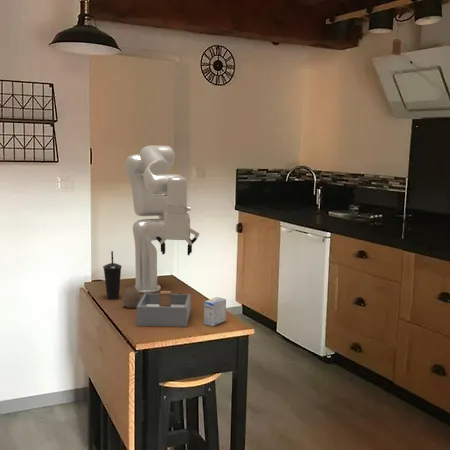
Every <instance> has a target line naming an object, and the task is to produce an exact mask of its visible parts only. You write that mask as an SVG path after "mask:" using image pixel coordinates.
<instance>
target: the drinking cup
mask: <svg viewBox="0 0 450 450" xmlns="http://www.w3.org/2000/svg"><path fill="white" fill-rule="evenodd" d="M110 253H111V254H110V255H111V256H110V257H111V258H110V259H111V262H110V263H106V264H104V265H103V266H102V268H103V273H104V281H105V290H106V291H105V292H106V299H108V300H118V299H119V298H120V289H121V287H120V286H121V276H122V275H121V273H122V272H121V271H122V268H123V267H122V265H121V264H119V263H115V262H114V251H111V252H110Z"/></svg>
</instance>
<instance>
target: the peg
mask: <svg viewBox="0 0 450 450" xmlns="http://www.w3.org/2000/svg"><path fill="white" fill-rule="evenodd" d="M158 294H159V307H171V294H172V290H159V293H158Z"/></svg>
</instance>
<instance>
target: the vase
mask: <svg viewBox="0 0 450 450" xmlns="http://www.w3.org/2000/svg"><path fill="white" fill-rule="evenodd" d="M134 285H135V284H129V285H128V286H127V287H126V289H125V290H124V291H123V294H122V303H123V305H124V306H125V308H127V309H134V308H137V305H138V304H139V302H140V300H141V295H140V293H139V292H138V290H137V289H136V288H135V286H134Z"/></svg>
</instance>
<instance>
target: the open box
mask: <svg viewBox="0 0 450 450" xmlns="http://www.w3.org/2000/svg"><path fill="white" fill-rule="evenodd" d="M191 295H192V294H191V293H171V307H159V293H155V292H151V293H143V295H142V296H141V297H140V302H139V304H138V305H137V307H136V326H137V327H138V326H139V327H150V326H151V327H180V328H181V327H184V328H186V327H187V326H188V324H189V323H188V322H189V320H190V315H191V304H192V303H191V302H192V301H191Z"/></svg>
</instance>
